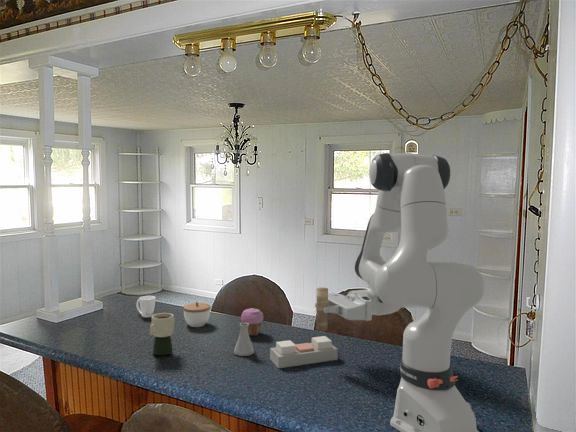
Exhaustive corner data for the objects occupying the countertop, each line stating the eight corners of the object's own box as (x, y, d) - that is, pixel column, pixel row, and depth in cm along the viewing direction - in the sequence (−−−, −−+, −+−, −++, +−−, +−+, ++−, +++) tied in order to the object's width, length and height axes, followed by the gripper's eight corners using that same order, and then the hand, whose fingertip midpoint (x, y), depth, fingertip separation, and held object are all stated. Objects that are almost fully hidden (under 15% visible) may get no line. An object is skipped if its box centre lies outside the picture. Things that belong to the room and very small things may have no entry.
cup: (146, 319, 182) (146, 300, 182) (130, 315, 187) (130, 297, 187) (159, 315, 188) (159, 297, 188) (143, 311, 193) (143, 293, 193)
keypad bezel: (337, 359, 143) (337, 349, 142) (278, 368, 135) (278, 357, 135) (326, 351, 150) (326, 340, 150) (269, 358, 142) (270, 348, 142)
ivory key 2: (331, 349, 143) (331, 340, 143) (317, 351, 141) (318, 342, 141) (324, 344, 148) (325, 335, 148) (311, 345, 146) (311, 337, 146)
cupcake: (262, 338, 162) (262, 312, 161) (239, 337, 162) (239, 311, 161) (264, 330, 171) (264, 305, 170) (242, 330, 171) (242, 305, 170)
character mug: (166, 346, 152) (166, 310, 151) (182, 350, 148) (182, 313, 148) (142, 357, 142) (142, 318, 141) (158, 361, 139) (158, 321, 138)
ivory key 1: (295, 354, 139) (296, 345, 138) (281, 355, 137) (281, 347, 137) (290, 348, 143) (290, 340, 143) (275, 350, 141) (276, 342, 141)
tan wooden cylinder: (329, 330, 137) (330, 289, 136) (319, 331, 136) (319, 290, 135) (324, 326, 140) (324, 287, 139) (314, 327, 139) (314, 288, 138)
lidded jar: (177, 325, 175) (177, 302, 174) (197, 319, 184) (197, 297, 183) (196, 330, 169) (196, 307, 168) (215, 324, 178) (215, 301, 177)
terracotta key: (313, 356, 141) (314, 347, 141) (299, 358, 139) (299, 349, 139) (307, 350, 146) (307, 342, 146) (293, 352, 144) (294, 344, 144)
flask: (251, 357, 143) (251, 328, 143) (230, 355, 145) (230, 326, 144) (257, 349, 150) (257, 321, 150) (237, 348, 152) (237, 320, 151)
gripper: (341, 287, 152) (306, 290, 146) (374, 301, 133) (334, 305, 128) (341, 305, 152) (305, 308, 147) (374, 322, 133) (334, 326, 128)
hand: (319, 307), depth 137 cm, fingers closed on tan wooden cylinder, 4 cm apart
